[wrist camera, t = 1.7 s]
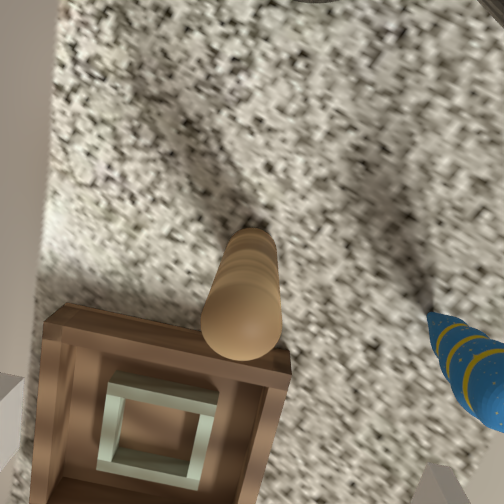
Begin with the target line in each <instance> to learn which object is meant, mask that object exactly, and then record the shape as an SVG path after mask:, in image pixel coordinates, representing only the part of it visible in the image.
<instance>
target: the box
mask: <svg viewBox="0 0 504 504" xmlns="http://www.w3.org/2000/svg"><path fill="white" fill-rule="evenodd" d="M291 377H292V371H291V361H290V351H289V350H284V349H280V348H275V347H273V348H272V349H271V350H270V351H269V352H268V353H266V354H265V355H263V356H261V357H259V358H256V359H253V360H247V361H238V360H232V359H228V358H226V357H223V356H221V355H220V354H218V353H217V352H215V351H214V350H213V349H212V348H211V347H210V346H209V345H208V344H207V342H206V340H205V339H204V337H203V334H202V332H201V331H197V330H192V329H187V328H183V327H178V326H173V325H169V324H164V323H160V322H155V321H150V320H146V319H141V318H137V317H132V316H127V315H123V314H118V313H113V312H109V311H104V310H100V309H95V308H90V307H86V306H81V305H77V304H72V303H66V304H64V305H63V306H62V307H61V308H59V309H58V310H57V311H56V312H55V313H53V314H52V315H51V316H50V317H49V318H47V319H46V320H45V321H44V323H43V336H42V348H41V360H40V373H39V385H38V398H37V410H36V422H35V435H34V447H33V460H32V472H31V484H30V497H29V504H255V503H256V500H257V496H258V493H259V489H260V486H261V482H262V479H263V475H264V472H265V468H266V465H267V461H268V457H269V454H270V450H271V447H272V443H273V440H274V436H275V433H276V429H277V426H278V422H279V419H280V415H281V412H282V408H283V405H284V401H285V398H286V394H287V391H288V387H289V384H290V380H291Z"/></svg>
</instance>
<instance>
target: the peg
mask: <svg viewBox="0 0 504 504" xmlns="http://www.w3.org/2000/svg"><path fill="white" fill-rule="evenodd" d="M200 324H201V331H202V334H203V337H204V339H205V340H206V342H207V344H208V345H209V346H210V347H211V348H212V349H213V350H214V351H215V352H217V353H218V354H220V355H221V356H223V357H226V358H228V359H232V360H238V361H247V360H253V359H256V358H259V357H261V356H263V355H265V354H266V353H268V352H269V351H270V350H271V349H272V348H273V347H274V346H275V345H276V343H277V342H278V340H279V338H280V335H281V331H282V313H281V300H280V287H279V274H278V261H277V249H276V245H275V242H274V240H273V239H272V237H271V236H270V235H269V234H268V233H266V232H265V231H263V230H261V229H258V228H244V229H241V230H239V231H237V232H236V233H235V234H234V235H233V236H232V237H231V238H230V240H229V242H228V244H227V247H226V249H225V252H224V255H223V257H222V260H221V263H220V265H219V268H218V271H217V273H216V276H215V279H214V281H213V284H212V287H211V289H210V292H209V295H208V297H207V300H206V303H205V305H204V308H203V311H202V314H201V320H200Z"/></svg>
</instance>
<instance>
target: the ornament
mask: <svg viewBox="0 0 504 504" xmlns="http://www.w3.org/2000/svg"><path fill="white" fill-rule="evenodd" d="M427 321H428V327H429V335H430V343H431V346H432V349H433V351H434V353H435V355H436V356H437V358H438V359H439V364H440V367H441V370H442V373H443V375H444V376H445V378H446V379H447V380H448V381H449V383H450V384H451V389H452V391H453V393H454V396H455V397H456V399H457V401H458V402H459V403H460V405H461V406H462V407H463V408H464V409H465V410H466V411H467V412H469V413H470V414H471V415H473V416H474V417H476V418H477V419H479V420H480V421H481V422H482V423H483V424H484V425H485V426H487V427H489V428H491V429H494V430H497V431H499V432H502V433H504V343H501V342H499V341H496V340H491V339H490V338H489V337H488V336H487V335H486V334H485V333H483V332H481V331H480V330H477V329H475V328H472V327H469V326H468V325H467V324H466V323H465V322H464V321H463V320H461V319H459V318H457V317H453V316H449V315H444V314H439V313H435V312H430V313H428V314H427Z"/></svg>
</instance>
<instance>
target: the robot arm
mask: <svg viewBox="0 0 504 504" xmlns="http://www.w3.org/2000/svg"><path fill="white" fill-rule="evenodd" d="M294 1H299V2H305V3H328V2H334V1H338V0H294ZM477 1H478V2H479V3H480V4H481V5H482V6H483V7H484V8H485V9H486V10H487V11H488V12H489V13H490V14H491V15H492V17H493V18H494V19H495V20H496V21H497V22H498V23H499V24H500V25H501V26H502V27H503V28H504V0H477ZM23 392H24V377H19V376H15V375H10V374H5V373H1V372H0V472H1V471H2V469H3V468H4V467H5V466H6V465H7V463H8V462H9V461H10V459H11V458H12V457H13V456H14V454H15V453H16V452H17V451H18V449H19V448H20V435H21V421H22V407H23ZM410 504H471V503H470V501H469V499H468V498H467V496H466V494H465V492H464V490H463V489H462V487H461V485H460V483H459V481H458V480H457V478H456V476H455V474H454V473H453V471H452V469H451V467H448V466H443V465H439V464H434V463H429V462H427V465H426V467H425V469H424V472H423V474H422V477H421V479H420V481H419V484H418V486H417V488H416V491H415V493H414V496H413V498H412V500H411V503H410Z"/></svg>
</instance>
